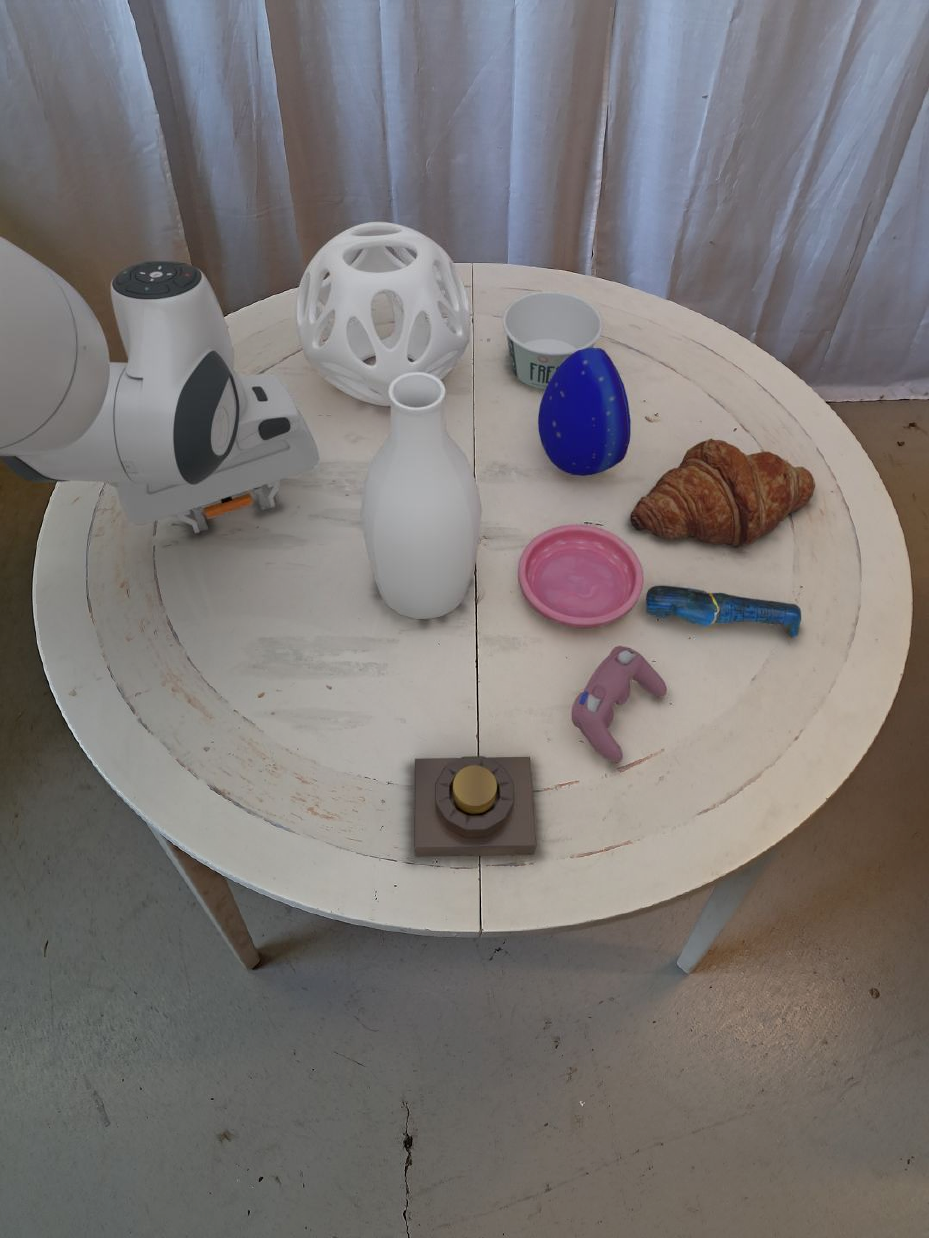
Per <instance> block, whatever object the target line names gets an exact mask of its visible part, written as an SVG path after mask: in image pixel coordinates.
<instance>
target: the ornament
mask: <svg viewBox="0 0 929 1238" xmlns="http://www.w3.org/2000/svg"><path fill="white" fill-rule="evenodd" d="M628 399H629V398H628V395H627V392H626V388H625V385H624V381H623V380H622V377H621V376H620V373H619V371H618V369H617V367H616V365H615V363H614V362H613V360H612V359H611V357H610V356H609V355H608V353H607V352H606V350H604V349H602V348H600V347H593V348H585V349H582V350H578V351H576V352H575V353H573V354H572V355H570V356H569V357H568V358H566V359H565V361H564V362H563V363H562V364H561V365H560V366H559V368H558V369H557V370H556V372H555V373H554V375H553V376H552V378H551V380H550V382H549V384H548V385H547V387H546V390H544V391H543V395H542V397H541V401H540V404H539V409H538V415H537V416H538V417H537V418H538V419H537V430H538V435H539V439H540V443H541V446H542V448H543V450H544V452H545V454H546V456H547V458H548V459H549V461H550V462H551V463H552V464H553V465H554V466H555V467H556V468H558V469H559V470H560V471H562V472H564V473H566V474H570V475H574V476H580V477H587V476H594V475H598V474H601V473H604V472H606V471H607V470H610V469H613V467H615V466H617V465H618V464H620V463H621V462H622V461H623V460H624V459H625V457H626V456H627V452H628V449H629V445H630V443H631V429H632V428H631V427H632V423H631V415H630V405H629V400H628Z"/></svg>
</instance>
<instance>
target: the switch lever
mask: <svg viewBox="0 0 929 1238" xmlns="http://www.w3.org/2000/svg"><path fill="white" fill-rule="evenodd" d="M219 501H220V502H217V503H214V504H211V505H207V506H205V507H203V511H204V514H205V516H206V519H209V520H210V519H212V518H214V517H217V516H221V515H224V514H226V513H227V514H228V513H230V512H233V511H236V510H240V509H243V508H245V507H249V506H251V505H253V504H254V500H253V498H252V495H251V493H246V494H243V495H239V496H236V497H232V496H229V497H226V498H223V499H220V500H219Z"/></svg>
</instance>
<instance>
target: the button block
mask: <svg viewBox="0 0 929 1238" xmlns="http://www.w3.org/2000/svg"><path fill="white" fill-rule="evenodd" d="M471 765H478V766H482V767H485V768H487V769H488V770H489V771H491V772H492V774H493V775H494V777H495V779H496V782H497V792H496V799H495V802H494V804H493V805H492V806H491V808H489V809H488V810H487V811H485V812H483V813H479V814H471V813H467V812H464V811H463V810H461V809H460V808H459V807H458V806H457V805H456V803H455V801H454V799H453V781H454V778H455V776H456V774H457V773H458V772H459V771H460V770H461V769H463V768H465V767H467V766H471ZM531 766H532V765H531V757H530V756H497V757H495V756H493V757H491V756H489V757H486V756H483V755H479V756H476V755H474V756H461V757H438V758H437V757H436V758H435V757H433V758H430V757H429V758H414V822H413V823H414V825H413V826H414V832H413V833H414V835H413V836H414V837H413V839H414V840H413V841H414V842H413V846H414V847H413V848H414V856H415V857H416V858H421V857H423V858H424V857H426V858H427V857H428V858H429V857H472V856H474V857H475V856H476V857H477V856H480V857H481V856H523V855H525V856H526V855H527V856H528V855H531V856H532V855H535V852H536V849H537V834H536V820H535V819H536V818H535V807H534V795H533V794H534V792H533V780H532V767H531Z"/></svg>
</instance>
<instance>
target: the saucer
mask: <svg viewBox="0 0 929 1238" xmlns="http://www.w3.org/2000/svg"><path fill="white" fill-rule="evenodd" d="M517 579H518V584H519V588H520V590H521V593H522V596H523V598H524V599H525V600H526V602H527V603H528V604H529V606H531V608H532V609H533V610H534V611H535V612H537V613H538V614H539V615H540V616H542V617H543V618H545V619H546V620H548V621H550V622H552V623H555V624H558V625H560V626H563V627H568V628H572V629H573V628H574V629H595V628H600V627H601V628H602V627H604V626H608V625H610V624H613V623H615V622H617V621H619V620H620V619H623V617H625V616H626V615H628V614H629V613H630V612H631V610H633V609H634V608H635V606H636V604H637V603H638V601H639V599H640V597H641V594H642V591H643V588H644V570H643V567H642V563H641V561H640V559H639V557H638V556H637V553H636V552H635V551H634V550H633V548H632V547H630V545H629V544H628V543H627V542H626V541H624V540H623V539H622V538H621V537H619V536H618V535H616V534H614V533H612V532H610V531H609V530H606V529H603V528H600V527H597V526H594V525H593V526H592V525H587V524H575V523H574V524H565V525H560V526H555V527H552V528H549V529H547V530H545V531H543V532H541V533H540V534H538V535H537V536H535V537H534V538H533V539H532V540H531V541H529V542H528V544H526V547H525V548H524V550H523V551H522V553H521V556H520V558H519V563H518V567H517Z"/></svg>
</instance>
